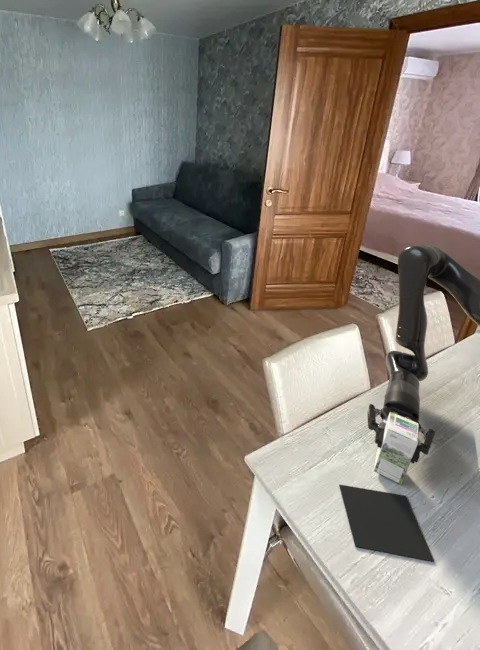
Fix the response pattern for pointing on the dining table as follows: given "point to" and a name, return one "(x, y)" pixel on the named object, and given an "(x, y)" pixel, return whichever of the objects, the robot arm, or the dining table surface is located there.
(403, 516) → the plate
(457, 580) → the dining table surface
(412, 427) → the syrup box
